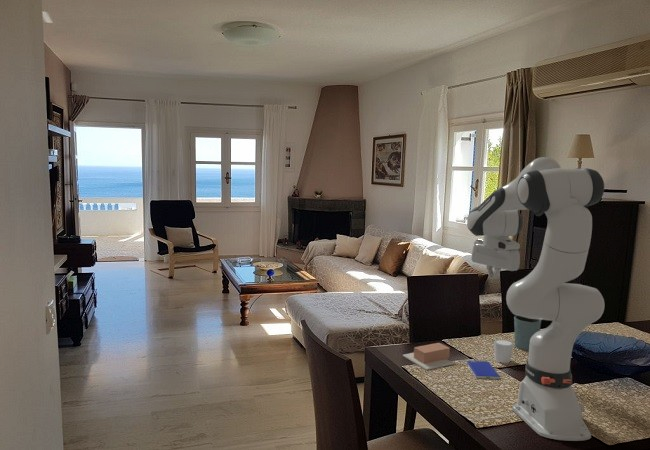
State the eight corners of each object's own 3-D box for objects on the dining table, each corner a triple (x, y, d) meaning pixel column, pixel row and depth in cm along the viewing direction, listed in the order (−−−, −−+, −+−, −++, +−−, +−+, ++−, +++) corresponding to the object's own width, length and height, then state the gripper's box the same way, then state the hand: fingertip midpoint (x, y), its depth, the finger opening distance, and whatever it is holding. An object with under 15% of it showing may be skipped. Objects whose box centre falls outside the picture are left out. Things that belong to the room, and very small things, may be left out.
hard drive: (466, 360, 174) (476, 375, 162) (489, 361, 174) (500, 376, 162) (466, 364, 175) (475, 379, 162) (488, 365, 174) (499, 380, 162)
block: (449, 348, 177) (424, 353, 171) (449, 358, 177) (423, 363, 172) (439, 342, 182) (414, 347, 177) (438, 352, 183) (413, 357, 177)
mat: (454, 364, 173) (454, 362, 173) (426, 370, 167) (426, 368, 167) (429, 350, 186) (429, 349, 186) (402, 355, 180) (402, 354, 180)
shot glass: (515, 364, 175) (516, 346, 174) (496, 363, 175) (497, 345, 174) (508, 357, 181) (509, 339, 181) (490, 356, 182) (491, 338, 181)
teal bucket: (532, 353, 185) (534, 324, 184) (507, 346, 193) (509, 317, 191) (543, 347, 192) (545, 319, 191) (518, 340, 200) (521, 312, 198)
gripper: (469, 238, 185) (466, 273, 186) (511, 246, 167) (508, 284, 168) (480, 238, 188) (478, 272, 189) (523, 245, 170) (520, 283, 171)
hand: (493, 278), depth 179 cm, fingers closed
